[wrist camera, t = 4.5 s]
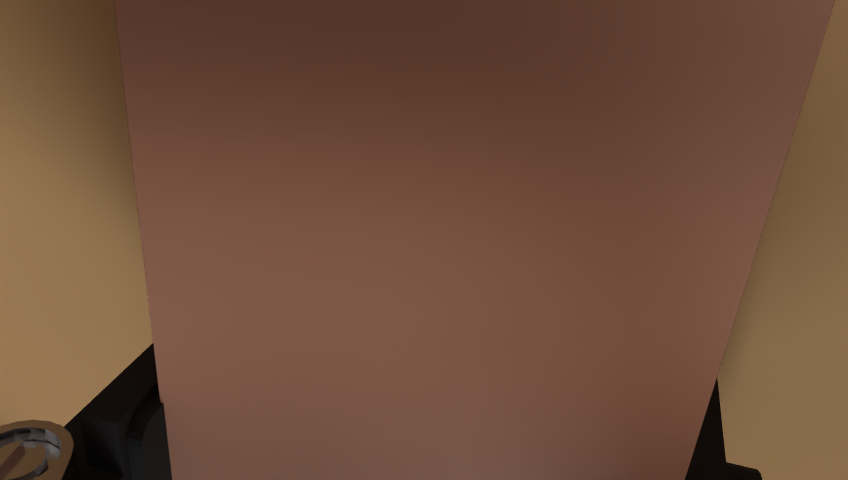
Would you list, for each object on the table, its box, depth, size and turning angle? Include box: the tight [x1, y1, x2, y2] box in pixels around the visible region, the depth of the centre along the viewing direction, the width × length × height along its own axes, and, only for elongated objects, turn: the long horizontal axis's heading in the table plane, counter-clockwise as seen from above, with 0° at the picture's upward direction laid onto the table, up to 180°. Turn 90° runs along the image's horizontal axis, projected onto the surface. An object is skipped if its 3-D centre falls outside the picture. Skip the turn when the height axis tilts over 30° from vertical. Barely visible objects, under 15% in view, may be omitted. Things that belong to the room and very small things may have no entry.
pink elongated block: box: [114, 0, 835, 480], centre depth 11 cm, size 14×6×4 cm, turn 176°
